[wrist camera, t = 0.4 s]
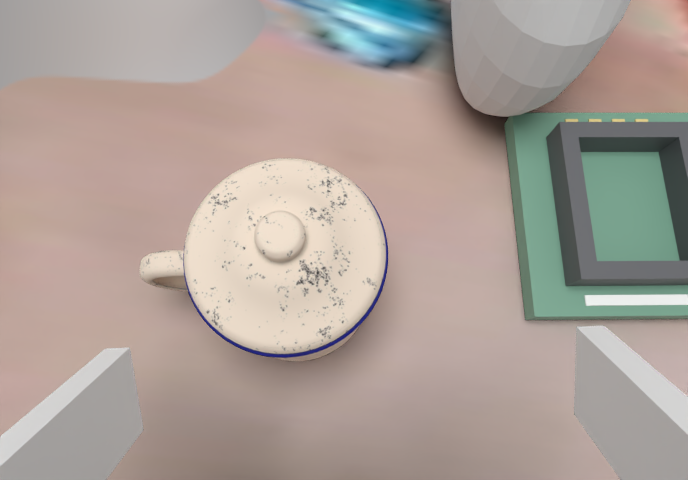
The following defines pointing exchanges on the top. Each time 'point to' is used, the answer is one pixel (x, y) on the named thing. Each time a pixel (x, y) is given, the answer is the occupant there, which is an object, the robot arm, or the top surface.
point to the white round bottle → (526, 48)
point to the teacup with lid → (280, 259)
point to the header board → (601, 214)
